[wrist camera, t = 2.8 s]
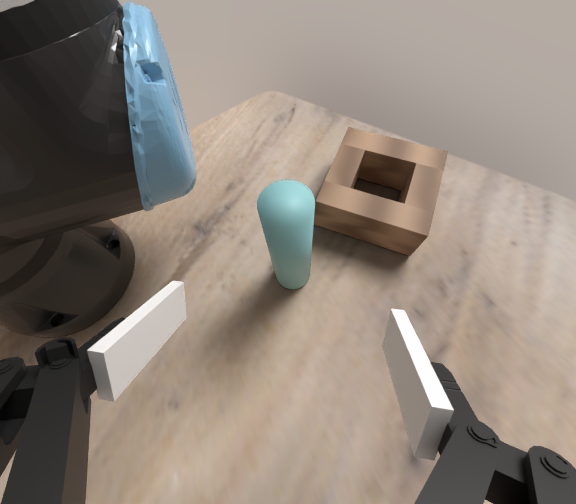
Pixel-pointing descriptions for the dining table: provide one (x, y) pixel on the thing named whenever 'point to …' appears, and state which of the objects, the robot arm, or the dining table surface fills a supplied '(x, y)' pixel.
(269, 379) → the dining table surface
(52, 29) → the robot arm
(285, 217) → the dowel
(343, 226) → the socket block
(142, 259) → the dining table surface
